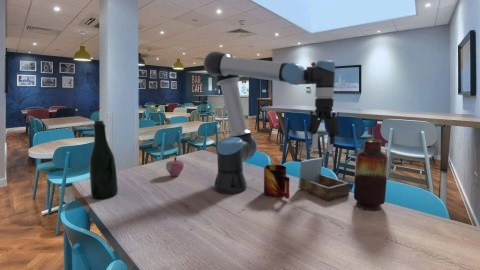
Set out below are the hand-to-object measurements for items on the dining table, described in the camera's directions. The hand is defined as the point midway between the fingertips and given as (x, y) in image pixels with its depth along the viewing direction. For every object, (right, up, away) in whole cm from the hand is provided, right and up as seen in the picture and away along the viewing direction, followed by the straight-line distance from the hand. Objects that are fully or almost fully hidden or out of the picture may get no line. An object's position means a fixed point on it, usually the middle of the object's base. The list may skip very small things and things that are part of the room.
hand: (322, 149), depth 119 cm
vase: (+14, -22, -14) cm, 29 cm away
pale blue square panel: (-3, -11, +8) cm, 14 cm away
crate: (+1, -19, +1) cm, 19 cm away
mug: (-19, -20, -1) cm, 28 cm away
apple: (-72, -16, +28) cm, 78 cm away
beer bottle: (-96, -20, -1) cm, 98 cm away
